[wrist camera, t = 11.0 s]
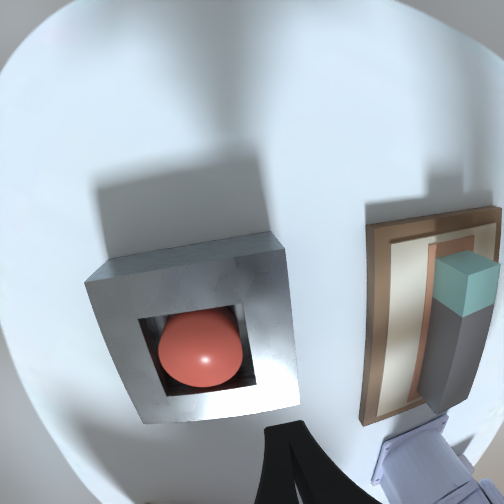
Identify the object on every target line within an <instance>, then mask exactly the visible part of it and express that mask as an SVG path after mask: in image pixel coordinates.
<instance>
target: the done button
mask: <svg viewBox="0 0 504 504" xmlns="http://www.w3.org/2000/svg"><path fill="white" fill-rule="evenodd" d="M158 353H159V358H160V362H161V364H162V366H163V367H164V369H165V370H166V371H167V373H169V374H170V375H171V376H172V377H173V378H174V379H176V380H178V381H179V382H182V383H184V384H187V385H190V386H195V387H210V386H215V385H219V384H221V383H224V382H225V381H227V380H229V379H230V378H231V377H232V376H233V375H235V373H236V372H237V371H238V369H239V367H240V365H241V363H242V356H243V353H242V346H241V339H240V332H239V326H238V322H237V320H236V318H235V316H234V315H233V314H232V312H231V311H230V310H229V309H228V308H226V307H225V306H221V307H215V308H209V309H203V310H196V311H190V312H183V313H176V314H169V316H168V317H167V320H166V323H165V326H164V329H163V333H162V336H161V340H160V343H159V350H158Z"/></svg>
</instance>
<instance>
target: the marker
mask: <svg viewBox="0 0 504 504" xmlns="http://www.w3.org/2000/svg"><path fill="white" fill-rule="evenodd" d="M499 272H500V264H499V263H497V262H495V261H493V260H491V259H488V258H486V257H484V256H481V255H479V254H477V253H474V252H472V251H470V250H465V251H462V252H458V253H454V254H451V255H447V256H443V257H439V258H435V270H434V283H433V294H432V304H431V313H430V320H429V328H428V334H427V341H426V346H425V352H424V358H423V363H422V368H421V373H420V377H419V382H418V386H417V390H416V391H417V392H418V393H419V394H420V396H421V397H422V398H423V399H424V400H425V402H426V403H427V404H428V405H429V407H430V408H431V409H432V410H433V412H434V413H435V414H436V415H438V414H440V413H442V412H444V411H446V410H448V409H450V408H451V407H453V406H455V405H457V404H459V403H461V402H462V401H464V400H466V399H467V398H468V395H469V393H470V390H471V387H472V384H473V382H474V379H475V376H476V373H477V370H478V366H479V363H480V360H481V357H482V353H483V350H484V346H485V342H486V339H487V335H488V331H489V326H490V322H491V318H492V313H493V308H494V303H495V298H496V292H497V286H498V279H499Z"/></svg>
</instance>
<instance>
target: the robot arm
mask: <svg viewBox="0 0 504 504" xmlns="http://www.w3.org/2000/svg"><path fill="white" fill-rule="evenodd" d="M448 418H449V417H448V415H443V416H442V417H440V418H438V419H436V420H434V421H432V422H429V423H427V424H425V425H423V426H421V427H419V428H417V429H414V430H412V431H410V432H408V433H405V434H403V435H400V436H398V437H396V438H393V439H391V440H388V441H386V442H385V443H384V444H383V446H382V450H381V453H380V457H379V460H378V463H377V467H376V470H375V473H374V476H373V479H372V482H371V484H372V486H375V485H377V484H380V485H381V487H382V489H383V491H384V493H385V495H386V497H387V499H388V501H389V503H390V504H504V497H503V495H502V494H501V492H500V491H499V490H498V488H497V487H496V485H495V484H494V483H493V481H492V480H491V479H490V478H486V479H485V478H483V479H481V480H480V481H479V483H480V484H479V483H478V482H477V481H476V480H475V479H473V477H472V476H471V474H470V473H469V472H468V470H467V469H466V467H465V466H464V465H463V463H462V462H461V461H460V459H459V458H458V457H457V455H456V454H455V452H454V451H453V450H452V448H451V447H450V446H449V444H448V443H447V442H446V440H445V439H444V438H443V436H442V435H441V434H442V432H443V430H444V428H445V425H446V423H447V420H448ZM264 435H265V450H264V460H263V467H262V473H261V479H260V483H259V487H258V491H257V495H256V499H255V502H254V504H299V501H298V498H297V493H296V488H295V483H296V486H297V488H298V491H299V494H300V496H301V499H302V502H303V504H382V503H380V502H379V501H377V500H376V499H375V498H373V497H372V496H370V495H369V494H368V493H366V492H365V491H364V490H363V489H361V488H360V487H359V486H358V485H356V484H355V483H354V482H353V481H352V480H351V479H350V478H349V477H348V476H346V475H345V474H344V473H343V472H342V471H341V470H340V469H339V468H338V467H337V466H336V465H335V463H334V462H333V461H332V460H331V459H330V458H329V457H328V456H327V454H326V453H325V452H324V451H323V450H322V448H321V447H320V446H319V444H318V443H317V442H316V440H315V439H314V438H313V436H312V435H311V433H310V432H309V430H308V428H307V427H306V425H305V423H304V421H302V420H298V421H294V422H289V423H285V424H280V425H275V426H269V427H266V428H265V429H264ZM294 480H295V481H294ZM480 485H481V486H482V487H481V486H480ZM482 488H483V489H482Z"/></svg>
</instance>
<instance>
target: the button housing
mask: <svg viewBox="0 0 504 504" xmlns="http://www.w3.org/2000/svg"><path fill="white" fill-rule="evenodd" d="M84 284H85V287H86V290H87V293H88V296H89V299H90V302H91V305H92V308H93V311H94V314H95V316H96V319H97V322H98V325H99V327H100V330H101V333H102V335H103V338H104V340H105V343H106V345H107V348H108V350H109V353H110V355H111V357H112V360H113V362H114V364H115V367H116V369H117V371H118V373H119V375H120V378H121V380H122V382H123V384H124V386H125V388H126V390H127V392H128V395H129V397H130V399H131V401H132V403H133V405H134V406H135V408H136V410H137V412H138V414H139V416H140V418H141V420H142V422H143V424H158V423H175V422H188V421H199V420H209V419H217V418H225V417H232V416H239V415H246V414H252V413H258V412H263V411H269V410H274V409H279V408H284V407H289V406H293V405H298V404H300V401H299V388H298V376H297V363H296V352H295V341H294V330H293V320H292V309H291V300H290V290H289V281H288V271H287V262H286V254H285V248H284V247H283V246H282V244H281V243H280V242H279V241H278V239H277V238H276V237H275V236H274V235H273V233H272V232H271V231H270V232H263V233H257V234H251V235H245V236H239V237H233V238H227V239H221V240H215V241H209V242H204V243H198V244H192V245H186V246H180V247H175V248H169V249H163V250H158V251H152V252H147V253H141V254H136V255H130V256H125V257H119V258H114V259H108V260H107V261H106V262H105V263H104V264H103V265H102V266H101V267H100V268H99V269H98V270H96V271H95V272H94V273H93V274H92V275H91V276H90V277H89V278H88V279H87V280H86V281H85V282H84ZM221 306H225V307H226V308H228V309H229V310H230V311H231V312H232V314H233V315H234V316H235V318H236V320H237V322H238V326H239V332H240V339H241V346H242V353H243V356H242V363H241V365H240V367H239V369H238V371H237V372H236V373H235V375H233V376H232V377H231V378H230V379H229V380H227V381H225V382H224V383H221V384H219V385H215V386H210V387H195V386H190V385H187V384H184V383H182V382H179V381H178V380H176V379H174V378H173V377H172V376H171V375H170V374H169V373H167V371H166V370H165V369H164V367H163V366H162V364H161V362H160V358H159V353H158V350H159V343H160V340H161V336H162V333H163V329H164V326H165V323H166V320H167V317H168V316H169V314H176V313H183V312H190V311H196V310H203V309H209V308H215V307H221Z"/></svg>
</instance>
